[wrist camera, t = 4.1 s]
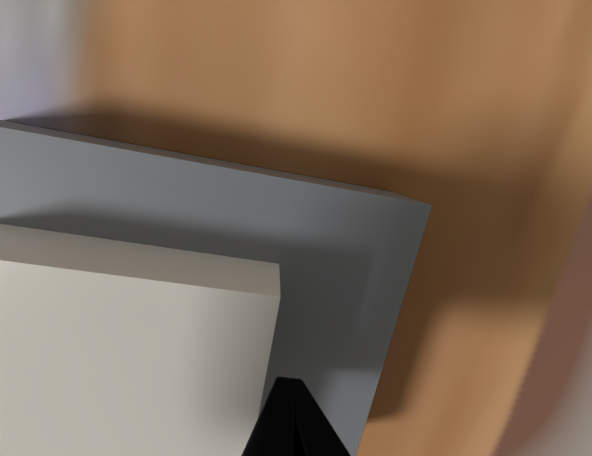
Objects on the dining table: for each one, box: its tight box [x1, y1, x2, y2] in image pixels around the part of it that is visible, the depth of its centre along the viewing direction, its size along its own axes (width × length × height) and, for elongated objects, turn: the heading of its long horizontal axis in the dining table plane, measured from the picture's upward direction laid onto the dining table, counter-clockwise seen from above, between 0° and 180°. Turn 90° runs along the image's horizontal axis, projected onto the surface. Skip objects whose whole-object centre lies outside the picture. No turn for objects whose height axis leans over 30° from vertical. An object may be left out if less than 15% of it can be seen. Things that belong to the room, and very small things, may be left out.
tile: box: [0, 224, 281, 456], centre depth 8 cm, size 7×8×2 cm
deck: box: [0, 120, 432, 456], centre depth 10 cm, size 12×14×3 cm
